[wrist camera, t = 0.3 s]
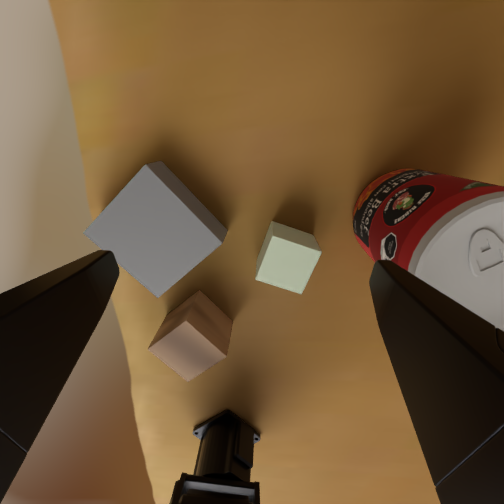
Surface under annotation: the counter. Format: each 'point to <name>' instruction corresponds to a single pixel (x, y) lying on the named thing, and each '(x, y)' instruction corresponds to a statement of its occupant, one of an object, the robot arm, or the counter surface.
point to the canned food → (439, 234)
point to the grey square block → (157, 228)
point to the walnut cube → (193, 337)
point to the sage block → (287, 257)
